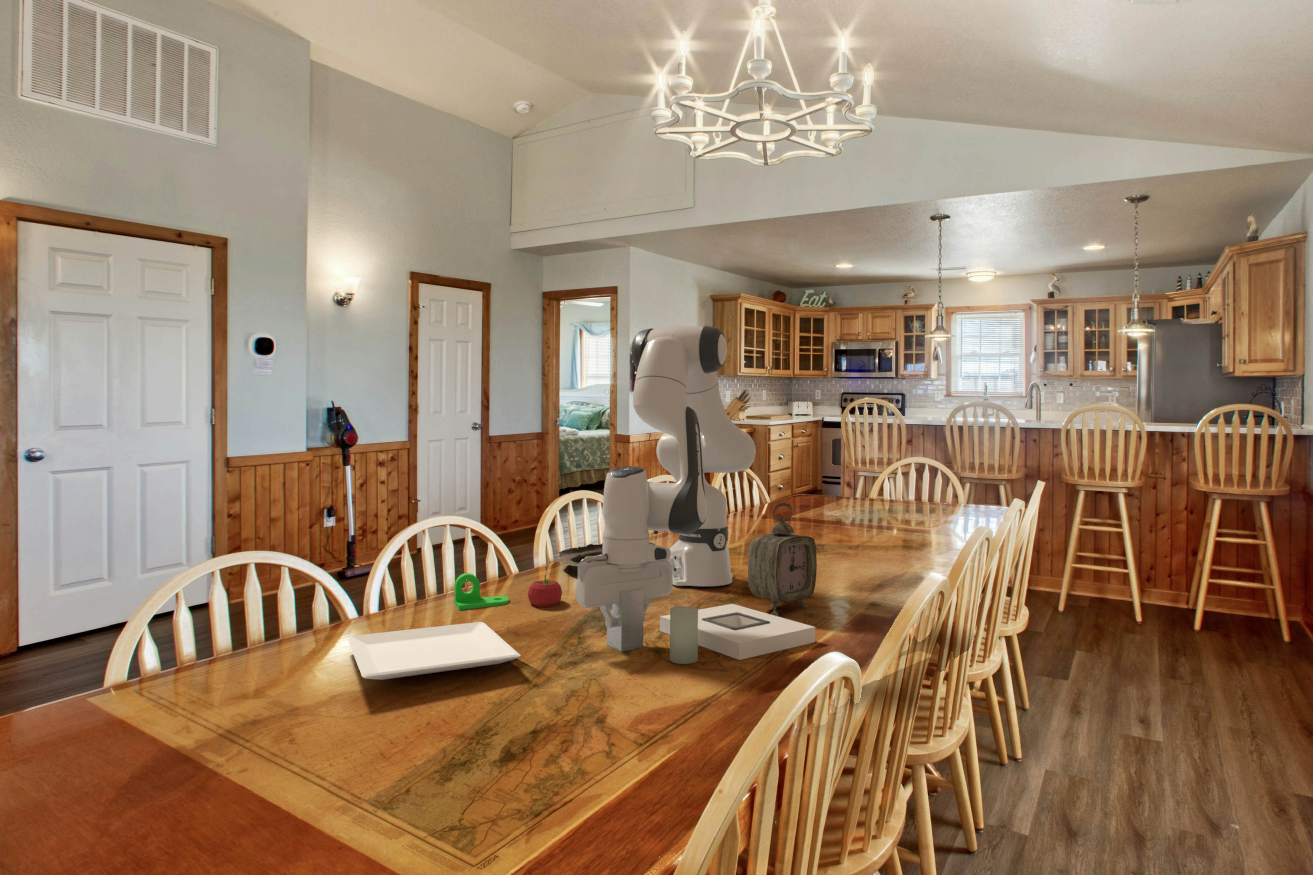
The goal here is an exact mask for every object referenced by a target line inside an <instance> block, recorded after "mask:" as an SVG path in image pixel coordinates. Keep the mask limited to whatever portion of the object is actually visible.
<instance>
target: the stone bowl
mask: <svg viewBox="0 0 1313 875" xmlns="http://www.w3.org/2000/svg"><path fill="white" fill-rule="evenodd" d="M558 554H559V555H558V557H559V558H557V560H558V561H559V562H561V563H562V564H563V565H568V566H571V571H572V572H573V573H574V574H576V575H578V564H579V563H580V562H581V561H582V560H583V559H584V558H585V557H587V556H596V555H602V554H603V542H602V543H600V544H597V543H596V544H593V543H590V544H587V545H585V546H578V547H572V548H571V547H570V548H568V549H563V550H561V551H560V552H558ZM584 562H585V561H584Z"/></svg>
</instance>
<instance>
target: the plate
mask: <svg viewBox="0 0 1313 875" xmlns="http://www.w3.org/2000/svg"><path fill="white" fill-rule="evenodd" d="M346 638H347V641H348V644H349V646H350V649H351V652H352V654H353V657H354V659H355V661H356V664H357V667H358V670H359V671H360V672H359V673H360V675H361V678H363V679H366V680H369V679H370V680H390V679H397V678H404V677H412V676H418V675H425V674H432V673H440V672H448V671H455V670H461V669H468V668H477V667H483V666H484V667H486V666H492V665H498V664H502V663H506V662H509V661H512V660H516V659H519V658H520V657H521V655H522V654H520V653H519V652H518V651H517V650H515V648H514V647H512V646H511V645H510V644H508V643H507V642H506V641H505V640H504V639H503V638H502V637H501V636H500V635H499V634H498V633H496V631H494V630H493V629H491V627H489V626H488V624H486V623H485V622H482V621H476V622H466V623H457V624H449V625H448V624H447V625H440V626H439V625H438V626H429V627H421V628H412V629H405V630H404V629H403V630H394V631H393V630H392V631H385V632H375V633H374V632H373V633H368V634H367V633H366V634H365V633H364V634H358V635H355V634H354V635H351V636H348V637H346Z"/></svg>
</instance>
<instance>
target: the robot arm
mask: <svg viewBox="0 0 1313 875" xmlns="http://www.w3.org/2000/svg"><path fill="white" fill-rule="evenodd" d="M630 351H631V359H632V360H631V361H632V364H633V365H634V367H635V368H636V369H637V370H636V375H635V381H634V385H633V386H634V387H633V394H632V405H633V409H634V411H635V412H636V413H635V414H636V415H637V416H638V417H639V418H640V419H641V420H642V422H644V423H645V424H646V425H648V426H650V427H651V428H653V429H655V430H658V431H660V432H663V434H662V435H661V436H660V438H659V440H658V441H657V444H656V449H655V450H656V451H655V452H656V453H655V454H656V459H657V460H658V462H659V464H660V466H662V468H664V470H666V471H667V472H668V474H670V475H671V476H672V478H673V479H674V480H675V481H676V482H654V481H653V482H652V481H648V477H647V472H646V470H645V468H643V467H641V466H636V465H634V466H633V465H624V466H618V467H615V468H611V469H610V470H608V472H607V474H606V477H605V480H604V488H603V497H602V498H603V499H602V516H603V520H604V529H603V532H602V543H603V554H602V555H596V556H587V557H585V558H584V559H583V560H582V561H581V562H580V563H579V564H578V574H577V580H576V581H577V582H576V588H575V601H576V603H577V604H578V605H579V606H581V607H583V608H588V609H589V608H596V607H599V609H600V612H601V613H602V615H603V617H604V618H605V619H604V622H605V624H604V625H605V627H606V628H607V627H608V628H612V627H616V626H617V624H616V622H617V618H615V617H612V615H611V613H610V611H609V610H612V604H617V603H619V601H620V592H622V591H629V590H636V589H644V612H643V623H644V622H645V620H646V619H645V616H646V612H647V611H648V608H649V606H650V604H651V599H654V598H660V597H667V596H669V595H670V594H671V592H672V591H673V585H674V586H678V587H679V586H681V587H683V586H685V587H686V586H691V587H720V586H725V585H730V584H732V583H733V578H734V574H733V573H732V571H731V561H730V560H731V558H730V548H729V546H728V544H727V542H728V541H729V529H728V526H727V502H728V501H727V498H726V495H725V494H724V493H723V491H722V490H720V489H719V488H717V487H715V486H713V485H711V484H709V483H708V481H707V480H706V477H705V474H706V473H711V474H713V473H715V474H716V473H718V474H732V473H738V472H743V471H747V470H748V469H750V468H751V466H752V465H753V464H754V461H755V459H756V455H757V451H756V444H755V440H753V438H752V437H751V435H750V434H749V433H747V432H746V431H745V430H743V429H741V428H740V427H739V426H737V424H735V423H734V422H733V420H731V419H730V417H729V416H728V414H727V413H726V411H725V409H724V407H723V406H724V405H723V403H722V397H721V392H720V387H719V386H720V385H719V378H718V371H719V370H721V368H722V367H724V365H725V363H726V359H727V356H728V344H727V340H726V337H725V334H724V333H723V332H722V330H720V328H718V327H715V326H709V325H704V326H697V325H677V326H668V327H661V328H659V327H658V328H646V329H642V330H640V331H638V333H637V334H636V335H635V336H634V338H633V339H632V343H631V350H630ZM649 531H654V532H671V533H672V534H673V533H674V534H679V535H678V540H677V541H676V542H675V543H674V544H672V545H671V546H670V547H669V548H668V547H664V546H661V545H657V544H655V543H653V542H650V534H649ZM584 561H585V562H584Z"/></svg>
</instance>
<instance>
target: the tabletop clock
mask: <svg viewBox="0 0 1313 875" xmlns="http://www.w3.org/2000/svg"><path fill="white" fill-rule="evenodd" d="M780 507H788V508H789V510H790V514H789V516H787V517H786V516H785V515H783V514H782V515H780V517H779V518H777V517H776V516H775V512H776V510H777V509H778V508H780ZM793 513H794V510H793V507H792V506H791V504H789V503H788V502H787V503H786V502H781V503H777V504H776V505H775V506H774V507H773V508H772V513H771V514H772V518H773V520H774V521H776V522H777V523H775V524H774V525H773V526H772V528H771V531H770V533H767V534H763V535H759V536H758V537H756V538H753V539H752V540H751V541H750V542H749V546H748V556H747V579H748V587H749V590H750V592H751V593H752V595H754V596H755V597H758V598H759V597H760V598H764V599H768V600H770V601H771V603H772V604H770V608H773V611H771V613H770V614H771V615H774V616H778V617H779V612H778V611H777V608H778V605H777V602H782V603H791V602H792V603H793V602H799V604H800V605H801V608H804V609H807V608H809V605H808V604H807V603H804V601H803V600H804V599H807V598H809V597H810V596H811V595H813V594H814V593H815V592H814V591H815V587H816V583H817V581H816V580H817V567H818V565H817V564H818V563H817V561H818V560H817V546H816V541H815V539H814V538H813V537H811V536H806V535H800V534H794V533H795V531H794V528H793V526H792V525H791V524H789V523H787V521H789V520H791V518H792V517H793Z"/></svg>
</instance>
